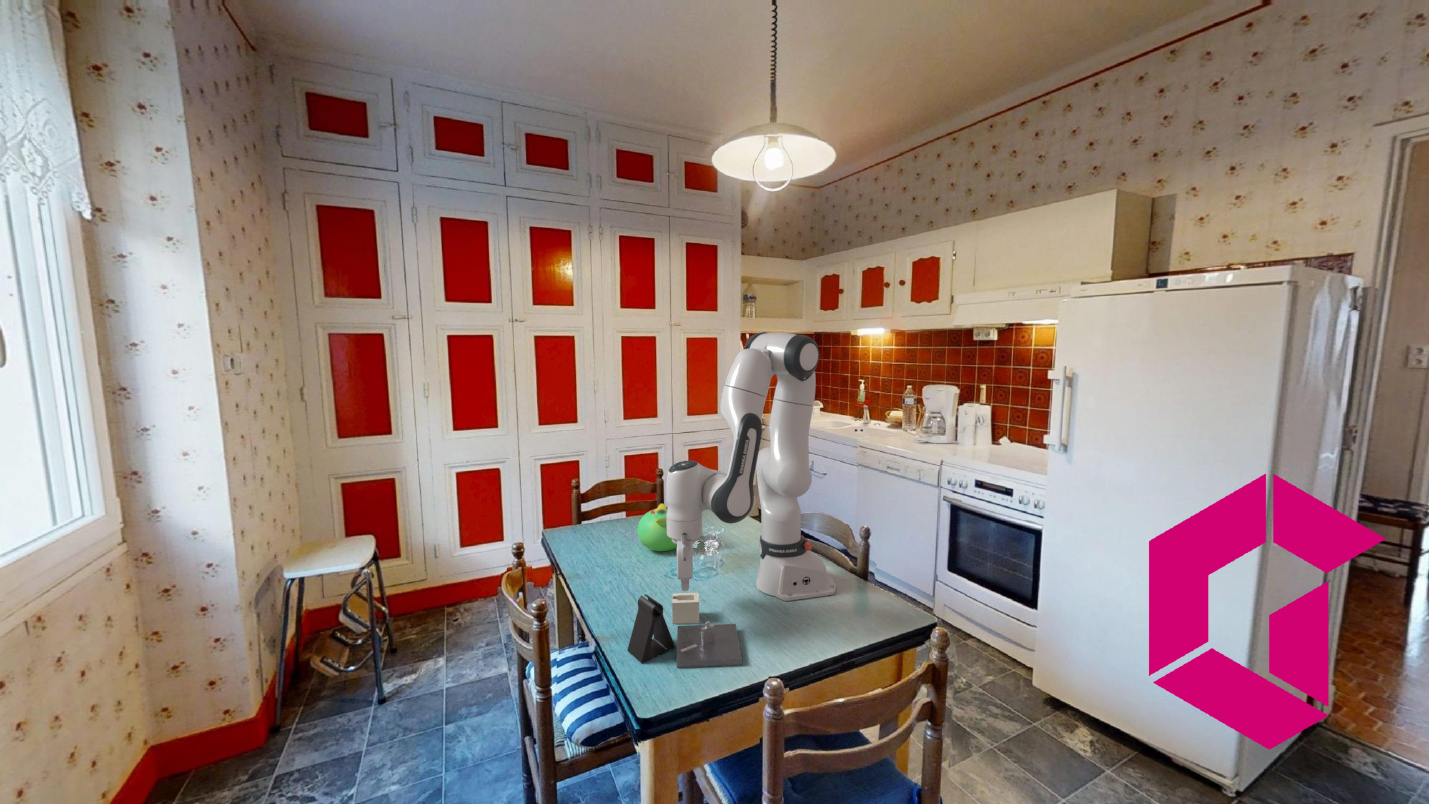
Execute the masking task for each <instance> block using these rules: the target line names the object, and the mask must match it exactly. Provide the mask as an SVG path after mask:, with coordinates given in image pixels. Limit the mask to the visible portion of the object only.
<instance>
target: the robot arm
mask: <svg viewBox="0 0 1429 804" xmlns="http://www.w3.org/2000/svg"><path fill="white" fill-rule="evenodd" d="M819 361H820V350H819V347H818V344H817V341H815V339H814V338H811V337H810V336H808V335H805V334H795V333H792V332H783V331H782V332H781V331H780V332H765V331H763V332H758V333H755V334H752V335H751V336H750V337H749V338H748V340H747V341H746V342H745V344H744V347H743V349H742V350H740V351H739V352H738V353H737V355H736V356H735V358H734V360H733V362H732V363H731V366H730V369H729V372H728V374H727V377H726V380H725V382H724V386H723V389H722V393H721V397H720V402H719V403H720V405H719V406H720V407H719V411H720V414H721V417H722V419H723V420H724V421H725V422H726V424H727V426H728V427H729V429H730V432H731V434H732V441H733V442H732V443H733V444H732V449H731V454H730V455H731V456H730V461H729V466H728V470H727V473H725V472H723V471H721V470H716V469H711V468H708V467H706V466H705V465H704V466H703V465H702V464H700V463H699V462H698V461H696V460H683V461H678V462H677V463H676V462H675V463H674V464H673V465H671V466H670V467H669V468H668V471H667V475H666V484H665V500H666V504H667V507H668V510H667V514H666V521H667V536H668V537H670V538H672V542H674V543H675V544H677V548H676V577H677V580H680V583H681V591H682V592H683V591H684V592H685V591H687V592H688V591H689V590H690V580H692V579H693V576H694V573H693V571H694V570H693V569H694V568H693V567H694V566H693V565H694V564H693V563H694V562H693V558H694V556H693V544H695V543H696V542H697V541H698V538H699V537H701V536H702V535H703V512H704V511H707V510H708V511H711V512H712V513H713V514H714V515H715V516H716V517H717V518H718V519H719V520H720V521H721V522H723V523H725V524H735V523H739V522H742V521H743V520H744V519H745V518H747V516H749V514H750V513H751V512H752V510H753V507H754V503H755V494H754V493H755V492H754V478H755V473H756V480H757V481H756V482H757V487H758V494H759V495H758V496H759V501H760V510H761V511H760V513H761V515H760V516H761V517H760V519H761V525H760V526H761V527H760V528H761V534H760V536H759V542H758V543H759V546H758V547H759V548H758V550H759V556H760V561H759V567H758V574H757V576H756V577H757V578H756V580H755V586H756V588H757V589H758V590H759V591H761V592H762V593H764V594H766V595H769V596H773V597H776V598H778V599H780V600H782V601H785V602H786V601H787V602H790V601H796V600H804V599H811V598H819V597H826V596H833V595H835V594H836V592H837V585H836V581H835V579H833V577H832V576H831V575H830V574H829V573H828V571H827V566H826V565H825V562H824V561H823V560H822V559H821V558H820V557H818V556H817V555H816V554H815V553H814V552H812V550H813V545H812V544H811V542H810V541H808V539H807V538H806V537H804V535H803V534H801V533H802V532H801V531H802V529H801V527H802V510H801V507H800V504H799V500H798V498H799V497H801V496H803V495H805V494H806V493H807V492H808V491H809V490H810V487H811V486H812V481H813V478H812V477H813V476H812V472H811V468H810V453H809V452H810V450H809V449H810V445H809V444H810V443H809V436H810V428H811V423H812V422H811V421H812V416H813V412H814V411H813V409H814V404H815V396H816V384H817V383H816V371H815V370H816V369H817V366H818V364H819ZM775 375H776V378H777V383H776V386H775V390H774V396H773V401H772V405H771V411H770V418H769V423H768V430H769V435H770V437H769V441H770V446H766V447H764V448H762V449H760V446H761V440H762V436H763V435H762V433H763V432H762V431H763V423H762V420H763V414H764V413H763V412H764V408H765V404H766V401H767V396H768V393H769V388H770V385H771V384H770V383H771V379H772V378H773V376H775Z"/></svg>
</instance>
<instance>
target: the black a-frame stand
mask: <svg viewBox="0 0 1429 804" xmlns="http://www.w3.org/2000/svg"><path fill="white" fill-rule="evenodd" d="M636 612H637V613H636V617H635V620H634V624H633V626H632V631H631V636H630V639H629V643H628V646H627V649H626V650H627V652H628V653H629V654H631V655H632V657H634V658H635V659H636V660H637V661H638V662H640V663H641V664H645V663H647V662H649V661H651V660H653V659H656V658H658V657H659V656H662V655H665V654H666V653H669V652H671V651H672V650H675V648H676V644H675V643H674V640H673V637H672V635H671V632H670V629H669V627H668V624H667V622H666V620H665V616H664V606H663V604H661V603H660V602H658V601H657V600H655V599H654V598H652V597H651V596H649V595H648V594H646V593H645V594H644V596H643V595H640V596H639V597H638V600H637V611H636Z"/></svg>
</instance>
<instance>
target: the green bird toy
mask: <svg viewBox="0 0 1429 804" xmlns="http://www.w3.org/2000/svg"><path fill="white" fill-rule="evenodd" d="M667 510H668V506H666V505H665V504H664V503H659V505H658V506H657V508H653V509H651V510H649V511H648V512H646V513H644V515H643V516H641V518H640V520H639V522H638V525H637V536H638V539H639V541H640V542H641V544H642V545H643V546H644V547H645V548H647V549H649V550H651V551H654V552H655V551H656V552H666V551H671V550H674V549H677V544H675V543H674V542H672V538H670V537H668V536H667V521H666V514H667Z"/></svg>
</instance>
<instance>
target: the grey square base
mask: <svg viewBox="0 0 1429 804" xmlns="http://www.w3.org/2000/svg"><path fill="white" fill-rule="evenodd" d="M676 633H677V635H676V640H677V641H676V669H686V668H687V669H688V668H689V669H690V668H709V667H710V668H712V667H733V666H735V667H737V666H742V665H743V658H742V652H741V647H740V640H739V636H738V635H739V634H738V629H737V624H736V623H722V624H720V623H719V624H718V623H717V624H714V623H713V624H711V621H710V620H708V621H705V622H704V624H696V625H695V624H693V625H677V632H676Z"/></svg>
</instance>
